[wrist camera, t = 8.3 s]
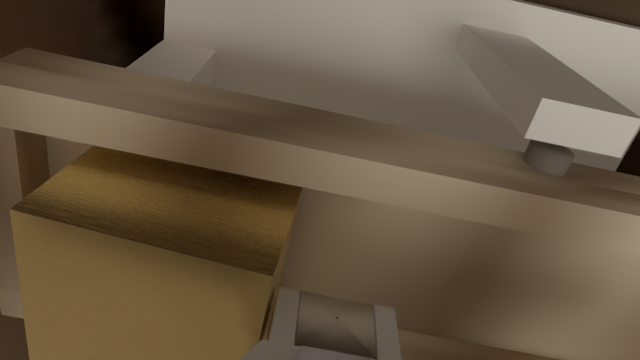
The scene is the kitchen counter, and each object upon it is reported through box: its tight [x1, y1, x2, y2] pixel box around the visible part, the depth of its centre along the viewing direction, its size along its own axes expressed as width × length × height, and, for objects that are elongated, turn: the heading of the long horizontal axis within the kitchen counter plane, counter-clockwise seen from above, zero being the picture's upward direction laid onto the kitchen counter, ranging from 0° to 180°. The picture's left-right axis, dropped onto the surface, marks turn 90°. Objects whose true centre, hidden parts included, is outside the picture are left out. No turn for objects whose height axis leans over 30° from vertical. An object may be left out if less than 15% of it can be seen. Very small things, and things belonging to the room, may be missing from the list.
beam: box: [0, 48, 640, 360], centre depth 15 cm, size 27×8×5 cm, turn 78°
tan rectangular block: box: [9, 145, 303, 360], centre depth 11 cm, size 5×4×4 cm
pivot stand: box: [126, 0, 640, 171], centre depth 17 cm, size 19×13×9 cm
